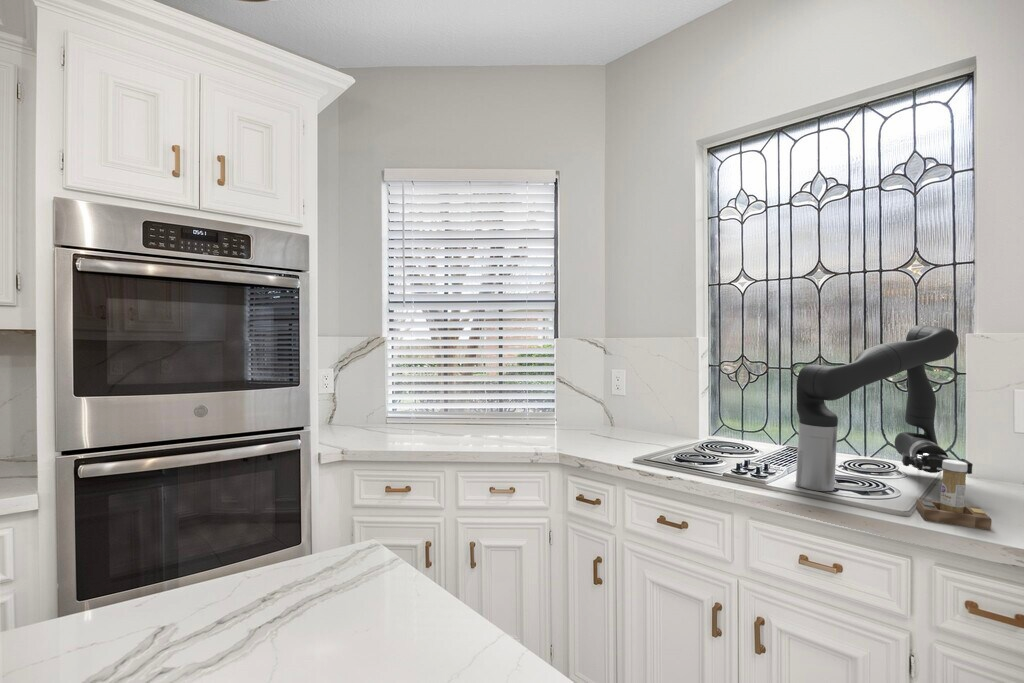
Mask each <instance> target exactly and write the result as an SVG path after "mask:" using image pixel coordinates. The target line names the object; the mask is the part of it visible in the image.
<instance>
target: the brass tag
mask: <svg viewBox="0 0 1024 683" xmlns="http://www.w3.org/2000/svg"><path fill="white" fill-rule="evenodd" d="M970 510H971V511H972V512H973V513H977V514H984V515H985V513H986V512H985V511H984V510H983V509H981V508H980V509H975V508H970ZM982 510H983V511H984V512H985V513H984V512H983V511H982Z"/></svg>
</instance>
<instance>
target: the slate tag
mask: <svg viewBox="0 0 1024 683" xmlns="http://www.w3.org/2000/svg"><path fill="white" fill-rule="evenodd" d="M921 503H922V504H923V505H924V506H928V507H935V506H934V505H933V503H932V502H926V501H921Z"/></svg>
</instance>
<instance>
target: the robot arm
mask: <svg viewBox="0 0 1024 683" xmlns="http://www.w3.org/2000/svg"><path fill="white" fill-rule="evenodd" d="M959 343H960V342H959V337H958V335H957V333H956V332H955V331H953V330H952V329H950V328H947V327H941V326H933V325H923V324H922V325H921V324H918V325H915V326H912V327H911V328H910V329H909V330H908V332H907V334H906V337H905V340H904V341H901V340H900V341H892V342H885V343H880V344H877V345H873V346H871V347H868V348H865V349H864V350H862V351H860V352H859V353H858V355H856V357H855V359H854V361H852V362H850V363H845V364H843V365H835V366H833V365H832V366H831V365H824V364H823V365H822V364H807V365H805V366H803V367H802V368H800V370H799V372H798V375H797V378H796V387H795V388H796V412H797V415H798V438H797V440H798V441H797V453H796V454H797V455H796V468H795V469H796V470H795V471H796V473H795V487H800V488H803V489H806V490H810V491H819V492H832V491H834V490H835V483H836V478H835V477H836V463H837V462H836V460H837V446H838V444H837V443H838V430H839V429H838V427H839V426H838V424H839V423H838V422H839V418H838V415H837V414H835V413H834V412H833V411H831V410H830V409H829V408H828V406H827V405H826V403H825V401H827V402H828V401H832V402H833V401H837V400H839V399H842V398H845V396H847V395H849V394H852V393H853V392H855V391H856V390H858V389H860V388H863V387H865V386H868V385H871V384H873V383H875V382H878V381H882V380H884V379H887V378H890V377H892V376H895V375H897V374H899V373H902V372H905V371H906V376H907V400H906V407H905V414H904V415H905V416H904V421H905V423H906V424H908V425H909V426H912V427H916V428H919V429H921V430H923V433H916V432H908V431H903V432H902V431H901V432H899V433H898V434H897V435H896V437H894V449H895V450H896V452H897V453H898V454H899V455H900V456H901V463H902V464H903V466H905V467H909V466H910V465H911V466H912V468H915V469H917V470H918V471H923V472H926V473H930V474H937V473H940V472H943V468H942V462H943V460H947V459H948V460H957V459H956V458H953V457H949V455H948V454H947V452H946V451H945V450H944V449H943V448H941V446H940V445H939V443H938V440H937V436H936V432H935V430H936V428H935V416H936V409H937V397H936V394H935V391H934V389H933V386H932V384H931V382H930V380H929V377H928V375H927V372H926V368H925V364H928V363H932V362H936V361H937V362H938V361H941V360H944V359H947V358H949V357H950V356H952V355H953V354H954V353H955V352H956V350H957V349H958V346H959ZM958 461H962V462H965V463H967V465H968V466H967V472H966V475H972V474H973V463H972V462H970V461H968V460H967V459H965V458H960V459H959V460H958Z"/></svg>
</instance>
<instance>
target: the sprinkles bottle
mask: <svg viewBox="0 0 1024 683" xmlns="http://www.w3.org/2000/svg"><path fill="white" fill-rule="evenodd" d="M967 466H968V465H967V463H965V462H962V461H959V460H958V459H956V460H948V459H947V460H943V462H942V468H943V471H942V477H941V479H942V480H941V481H942V482H941V487H940V489H941V490H940V498H939V499H940V501H939V502H940V510H943V511H950V512H957V513H963V509H964V505H965V497H966V480H967V478H966V477H967V474H966V472H967Z"/></svg>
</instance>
